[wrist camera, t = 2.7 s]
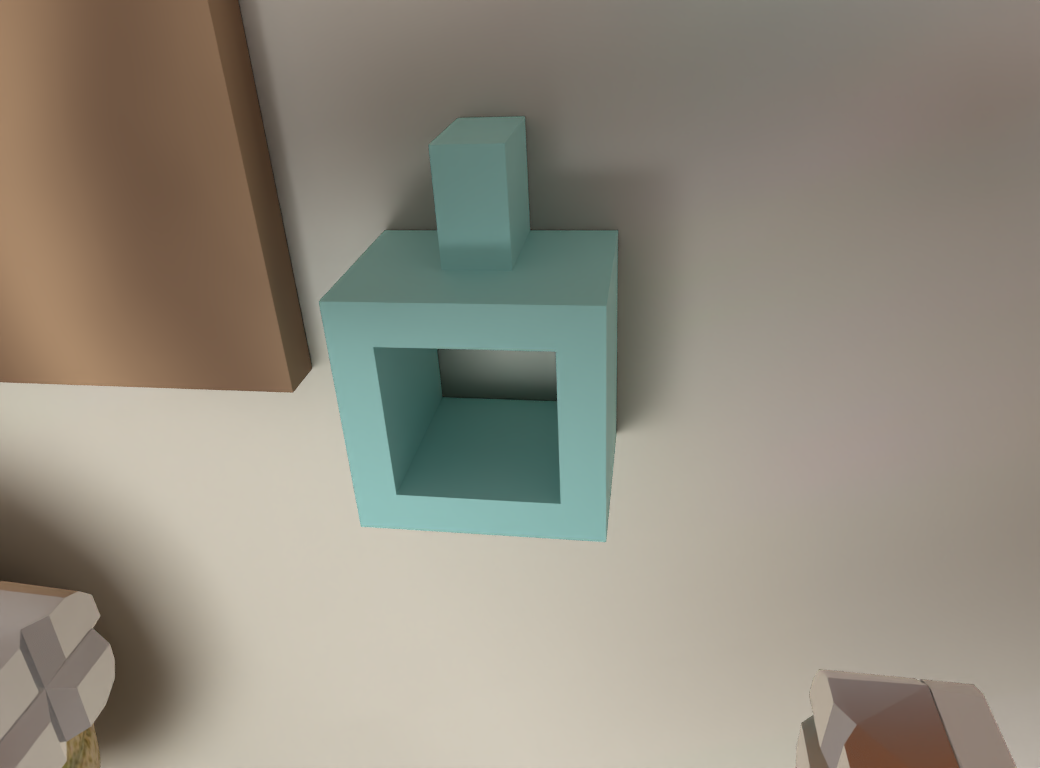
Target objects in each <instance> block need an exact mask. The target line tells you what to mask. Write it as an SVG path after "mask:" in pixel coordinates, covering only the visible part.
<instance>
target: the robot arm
mask: <svg viewBox="0 0 1040 768" xmlns="http://www.w3.org/2000/svg"><path fill="white" fill-rule="evenodd" d="M99 618H100V613H99V611H98V608H97V606H96V603H95V601H94V599H93V596H92V595H91V594H87V593H84V592H80V591H74V590H66V589H59V588H52V587H44V586H37V585H29V584H22V583H15V582H7V581H0V768H62V767H63V765H64V764H65V763H66V761H67V749H66V742H67V741H69V740H70V739H72V738H73V737H75V736H77V735H78V734H80V733H81V732H83V731H85V730H86V729H88V728H89V727H91V726H92V724H93V723H94V721H95V720H96V718H97V717H98V716H99V714H100V713H101V711H102V710H103V708H104V707H105V705H106V703H107V700H108V697H109V694H110V691H111V688H112V685H113V682H114V679H115V658H114V655H113V652H112V649H111V645H110V643H109V642H107V641H106V640H105V639H104V638H103V637H102V636H101V635H100V634H99V633H98V632H97V631H96V630H94V629H93V627H94V626H95V624H96V622H97V621H98V619H99ZM809 697H810V702H811V706H812V711H813V716H811V717H810V718H808V719H807V720H805V721H804V722H802V723H801V727H800V732H799V737H798V741H797V749H796V768H1017V767H1016V764H1015V762H1014V760H1013V758H1012V756H1011V754H1010V751H1009V749H1008V747H1007V745H1006V743H1005V740H1004V738H1003V736H1002V734H1001V732H1000V730H999V727H998V725H997V723H996V721H995V719H994V717H993V714H992V712H991V710H990V708H989V706H988V704H987V701H986V699H985V697H984V695H983V693H982V692H981V691H980V690H979V689H978V688H977V687H976V686H975V685H973V684H963V683H953V682H943V681H933V680H923V679H921V680H917V679H915V678H906V677H896V676H885V675H875V674H865V673H854V672H844V671H833V670H823V669H819V670H818V672H817V673H816V675H815V676H814V678H813V681H812V685H811V688H810V692H809Z"/></svg>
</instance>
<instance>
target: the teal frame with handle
mask: <svg viewBox="0 0 1040 768" xmlns="http://www.w3.org/2000/svg"><path fill="white" fill-rule="evenodd" d="M428 146H429V156H430V165H431V175H432V185H433V194H434V204H435V213H436V223H437V230H385V231H384V232H383V233H382V234H381V235H380V236H379V237H378V238H377V239H376V240H375V241H374V242H373V243H372V245H371V246H370V247H369V248H368V249H367V250H366V251H365V252H364V253H363V254H362V255H361V256H360V257H359V259H358V260H357V261H356V262H355V263H354V264H353V265H352V266H351V267H350V268H349V269H348V270H347V271H346V273H345V274H344V275H343V276H342V277H341V278H340V279H339V280H338V281H337V282H336V283H335V284H334V286H333V287H332V288H331V289H330V290H329V291H328V292H327V293H326V294H325V295H324V296H323V297H322V298H321V300H320V301H319V306H320V311H321V316H322V322H323V327H324V332H325V338H326V343H327V348H328V354H329V359H330V364H331V370H332V375H333V380H334V385H335V391H336V396H337V401H338V407H339V412H340V417H341V423H342V428H343V433H344V439H345V444H346V449H347V455H348V460H349V465H350V471H351V476H352V481H353V487H354V492H355V497H356V503H357V508H358V513H359V519H360V524H361V527H375V528H391V529H407V530H423V531H439V532H455V533H471V534H487V535H503V536H519V537H535V538H551V539H566V540H582V541H598V542H606V537H607V527H608V516H609V506H610V495H611V485H612V474H613V464H614V453H615V443H616V406H617V293H618V230H530V214H529V193H528V171H527V150H526V128H525V116H513V117H468V118H457V119H456V120H455V121H454V122H453V123H452V124H450V125H449V126H448V127H447V128H446V129H445V130H444V131H443V132H442V133H441V134H439V135H438V136H437V137H436V138H435V139H434V140H433V141H432V142H431V143H430V144H429V145H428ZM437 349H471V350H511V351H551V352H556V376H557V401H536V400H508V399H480V398H451V397H442V388H441V379H440V370H439V361H438V353H437Z"/></svg>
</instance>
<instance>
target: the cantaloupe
mask: <svg viewBox="0 0 1040 768" xmlns="http://www.w3.org/2000/svg"><path fill="white" fill-rule="evenodd" d="M66 749H67V761H66V763H65V764H64V765H63V767H62V768H100V753H99V745H98V741H97V737H96V732H95V728H94V723H93V724H92V726H91V727H89V728H88V729H86V730H85V731H83V732H81V733H80V734H78V735H77V736H75V737H73V738H72V739H70V740H69V741H67V742H66Z"/></svg>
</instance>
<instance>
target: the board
mask: <svg viewBox="0 0 1040 768" xmlns="http://www.w3.org/2000/svg"><path fill="white" fill-rule="evenodd" d="M311 369H312V366H311V361H310V356H309V351H308V346H307V341H306V336H305V331H304V326H303V321H302V316H301V311H300V306H299V301H298V296H297V291H296V286H295V281H294V276H293V271H292V266H291V261H290V256H289V251H288V246H287V242H286V237H285V232H284V227H283V222H282V217H281V212H280V207H279V202H278V197H277V192H276V187H275V182H274V177H273V172H272V167H271V162H270V157H269V152H268V147H267V142H266V137H265V132H264V127H263V122H262V117H261V112H260V107H259V102H258V97H257V92H256V87H255V82H254V77H253V73H252V68H251V63H250V58H249V53H248V48H247V43H246V38H245V33H244V28H243V23H242V18H241V13H240V8H239V3H238V0H0V382H10V383H39V384H67V385H96V386H124V387H152V388H181V389H209V390H237V391H266V392H294V391H295V389H296V388H297V387H298V386H299V384H300V383H301V382H302V381H303V379H304V378H305V377H306V376H307V374H308V373H309V372H310V371H311Z"/></svg>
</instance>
